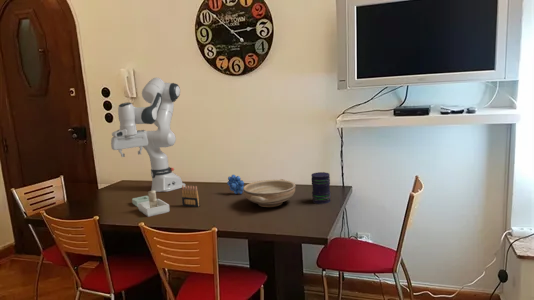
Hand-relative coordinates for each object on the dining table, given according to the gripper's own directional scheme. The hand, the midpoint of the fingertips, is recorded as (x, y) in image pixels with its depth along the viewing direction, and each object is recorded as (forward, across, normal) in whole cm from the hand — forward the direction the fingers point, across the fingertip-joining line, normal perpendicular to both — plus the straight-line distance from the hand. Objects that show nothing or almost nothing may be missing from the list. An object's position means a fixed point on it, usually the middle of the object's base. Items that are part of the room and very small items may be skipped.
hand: (131, 155), depth 239 cm
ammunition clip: (+29, -22, +27) cm, 46 cm away
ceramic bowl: (+29, -56, +56) cm, 84 cm away
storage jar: (+29, -78, +73) cm, 111 cm away
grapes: (+29, -52, +25) cm, 65 cm away
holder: (+29, -3, 0) cm, 29 cm away
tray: (+29, -3, +20) cm, 35 cm away
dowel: (+28, -3, +20) cm, 35 cm away
